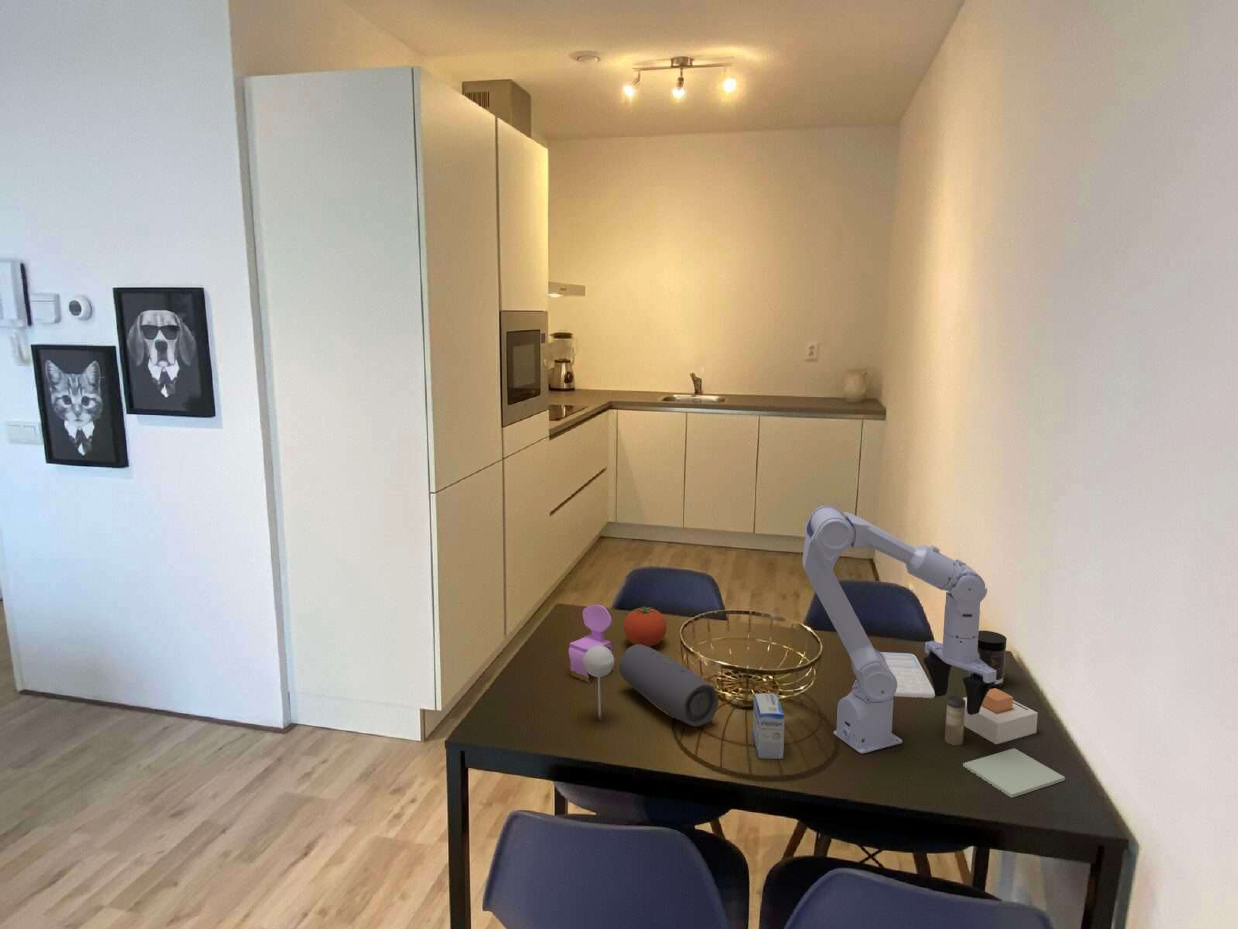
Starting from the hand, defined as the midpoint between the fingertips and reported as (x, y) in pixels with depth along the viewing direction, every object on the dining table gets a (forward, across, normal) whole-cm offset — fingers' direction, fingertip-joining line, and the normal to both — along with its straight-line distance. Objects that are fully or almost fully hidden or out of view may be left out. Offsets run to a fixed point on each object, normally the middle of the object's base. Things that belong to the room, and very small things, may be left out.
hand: (956, 704), depth 143 cm
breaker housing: (+7, +1, -11) cm, 13 cm away
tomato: (+7, +63, +33) cm, 72 cm away
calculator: (+8, +26, -9) cm, 29 cm away
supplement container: (+8, +15, -24) cm, 29 cm away
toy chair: (+7, +54, +50) cm, 74 cm away
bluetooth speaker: (+7, +33, +42) cm, 54 cm away
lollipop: (+7, +34, +56) cm, 66 cm away
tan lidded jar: (+7, 0, 0) cm, 7 cm away
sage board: (+7, -12, -1) cm, 14 cm away
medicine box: (+7, +12, +32) cm, 35 cm away
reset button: (+4, +1, -11) cm, 12 cm away
